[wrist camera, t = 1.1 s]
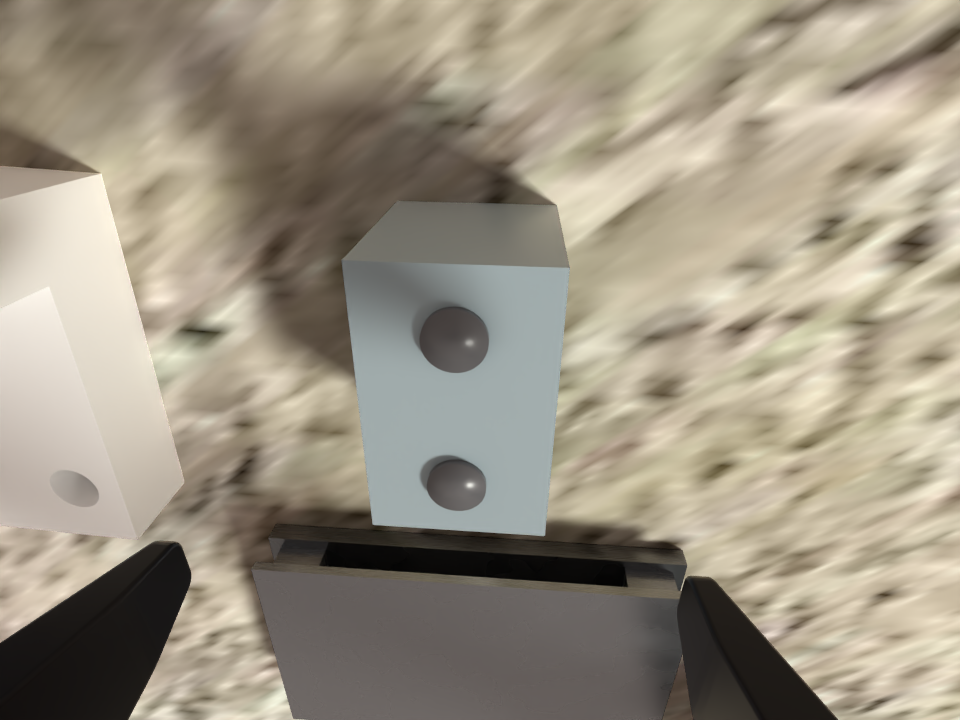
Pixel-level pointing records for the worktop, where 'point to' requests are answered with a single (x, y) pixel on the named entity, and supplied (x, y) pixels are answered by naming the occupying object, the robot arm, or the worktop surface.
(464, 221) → the housing
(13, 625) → the worktop surface
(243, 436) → the worktop surface
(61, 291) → the bracket
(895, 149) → the worktop surface
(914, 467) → the worktop surface
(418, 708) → the stand
